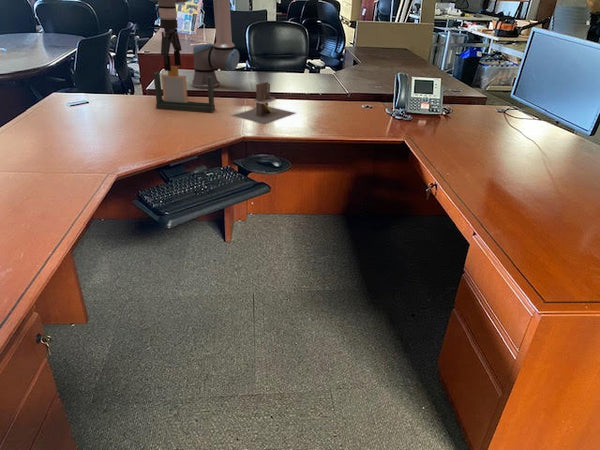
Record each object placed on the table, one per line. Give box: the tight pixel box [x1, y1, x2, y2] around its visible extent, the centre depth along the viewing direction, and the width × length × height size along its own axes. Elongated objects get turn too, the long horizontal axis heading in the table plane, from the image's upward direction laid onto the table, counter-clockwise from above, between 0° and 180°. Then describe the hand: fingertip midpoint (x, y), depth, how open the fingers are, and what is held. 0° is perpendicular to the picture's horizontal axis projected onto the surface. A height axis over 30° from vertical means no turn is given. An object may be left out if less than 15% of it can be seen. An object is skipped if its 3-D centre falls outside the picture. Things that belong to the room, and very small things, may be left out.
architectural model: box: [232, 81, 295, 125], centre depth 214 cm, size 20×25×15 cm
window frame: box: [152, 71, 216, 114], centre depth 215 cm, size 6×28×16 cm, turn 84°
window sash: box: [160, 65, 189, 103], centre depth 214 cm, size 3×12×17 cm, turn 84°
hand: (173, 67), depth 210 cm, fingers open, 13 cm apart
